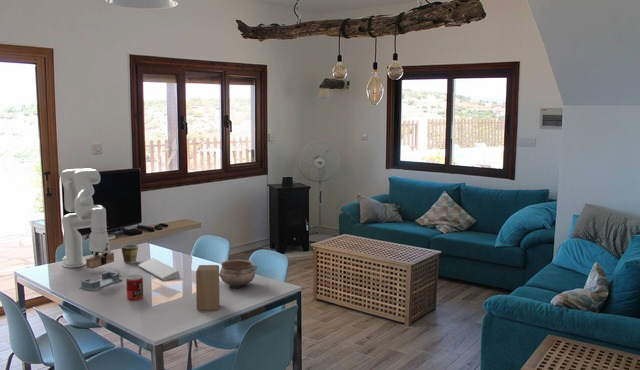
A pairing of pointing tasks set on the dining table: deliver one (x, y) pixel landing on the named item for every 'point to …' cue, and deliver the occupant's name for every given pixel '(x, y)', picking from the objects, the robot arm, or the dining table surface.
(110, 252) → the robot arm
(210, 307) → the wooden block
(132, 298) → the canned food
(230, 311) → the dining table surface
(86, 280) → the board
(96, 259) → the slat
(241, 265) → the cooking pot
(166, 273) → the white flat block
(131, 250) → the ceramic cup
